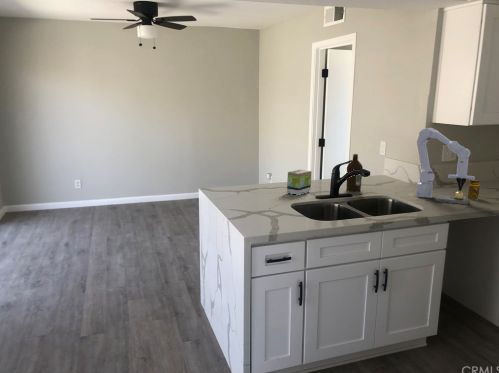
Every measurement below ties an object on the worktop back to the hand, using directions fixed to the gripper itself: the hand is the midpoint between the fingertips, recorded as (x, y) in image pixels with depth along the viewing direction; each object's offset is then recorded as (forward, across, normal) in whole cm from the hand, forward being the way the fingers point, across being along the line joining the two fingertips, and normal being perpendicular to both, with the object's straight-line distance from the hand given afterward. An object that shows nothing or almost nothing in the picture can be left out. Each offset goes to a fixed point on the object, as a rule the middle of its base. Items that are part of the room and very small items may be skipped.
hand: (459, 190), depth 259 cm
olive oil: (+7, -65, +6) cm, 66 cm away
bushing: (+7, 0, 0) cm, 7 cm away
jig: (+7, -4, 0) cm, 8 cm away
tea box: (+7, -97, -18) cm, 99 cm away
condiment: (+8, +8, +13) cm, 17 cm away
